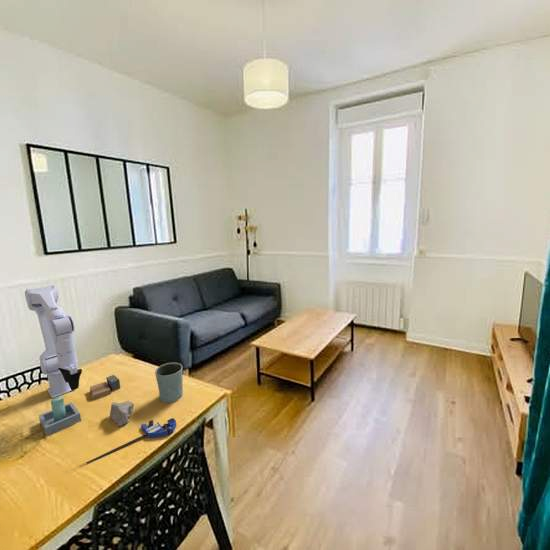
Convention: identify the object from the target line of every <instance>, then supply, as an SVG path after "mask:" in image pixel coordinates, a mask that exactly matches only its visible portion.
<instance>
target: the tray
mask: <svg viewBox="0 0 550 550" xmlns="http://www.w3.org/2000/svg"><path fill="white" fill-rule="evenodd" d="M64 405H65V411H66V417H67V418H64V419H62V420H60V421H57V422H55V423H54V418H53V412H52V409H51V410H49V411H46V412H44V413H41V414H39V415H38V418H39V423H40V425H41V427H42V429H43V431H44V432H45V435H46V436H47V437H48V436H51V435H53V434H54V433H57V432H59V431H61V430H63V429H66V428H68V427H70V426H73V425H75V424H77V423H80V422H81V421H82V417H81V412H79V410H78V408H77V406H76V405H74V403H73V402H68V403H67V404H64Z"/></svg>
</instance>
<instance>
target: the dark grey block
mask: <svg viewBox="0 0 550 550" xmlns="http://www.w3.org/2000/svg"><path fill="white" fill-rule="evenodd" d="M105 379H106V383H107V384H108V386H109V388H110V391H112V392H115V391H117V390H119V389H121V382H120V378H118V377H117V376H116V375H115V374H112V375H109V376H106V378H105Z"/></svg>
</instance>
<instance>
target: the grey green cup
mask: <svg viewBox="0 0 550 550" xmlns="http://www.w3.org/2000/svg"><path fill="white" fill-rule="evenodd" d="M154 374H155V378H156V379H155V380H156V384H157V388H158V392H159V399H160V401H161V402H162V403H165V404H170V403H175V402H177V401H179V400H180V399H181V398H183V395H184V390H183V365H182V364H181V363H179V362H167V363H164V364H161V365H160V366H158V367H156V369H155V370H154Z"/></svg>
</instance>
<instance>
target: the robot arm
mask: <svg viewBox="0 0 550 550" xmlns="http://www.w3.org/2000/svg"><path fill="white" fill-rule="evenodd" d="M24 296H25V301H26V304H27V308H28V310H29V311H34V312H35V313H36V316H37V319H38V322H39V327H40V330H41V334H42V338H43V342H44V346H45V350H44V351H43V352H42V353H41V354H40V356H39V365H40V369H41V372H42V374H43V375H44V376H46V375H47V381H48V386H49V387H48V388H47V389H46V390H47V392H48V395H50V397H51V398H52V399H54V398H57V397H61V396H62V395H65V394H67V393H71V392H72V391H76V390H77V389H79V387H80V379H81V375H82V373H83V370H82V368H78V363H79V359H78V356H77V350H76V345H75V338H74V332H75V325H74V320H73V319H72V316H70V315H68V314H66V312H65V310H64V309H63V308H62V306H60V305H57V303H58V299H59V292H58V288H57V287H56V285H53V284H51V285H48V286H41V287H34V288H30V289H29V288H27V289H26V290H25V291H24Z"/></svg>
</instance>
